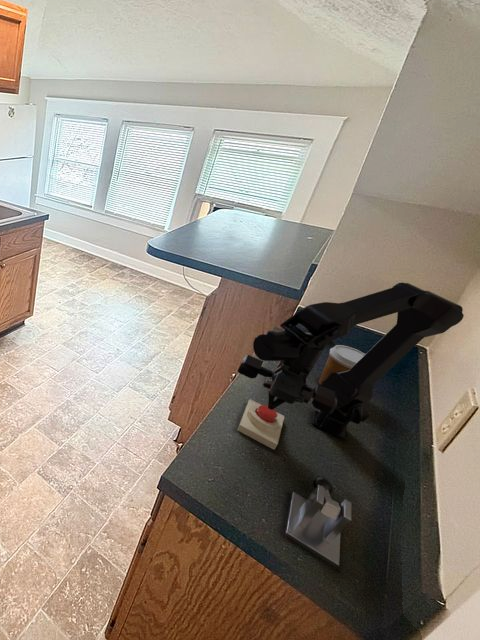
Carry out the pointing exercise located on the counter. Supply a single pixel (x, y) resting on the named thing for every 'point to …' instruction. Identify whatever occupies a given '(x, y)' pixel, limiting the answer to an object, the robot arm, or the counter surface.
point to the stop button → (266, 413)
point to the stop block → (260, 426)
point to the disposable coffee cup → (340, 360)
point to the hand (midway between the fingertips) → (270, 408)
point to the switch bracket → (317, 525)
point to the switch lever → (327, 498)
